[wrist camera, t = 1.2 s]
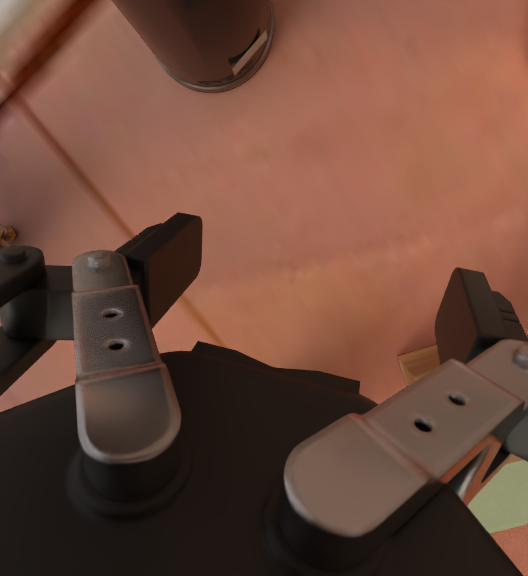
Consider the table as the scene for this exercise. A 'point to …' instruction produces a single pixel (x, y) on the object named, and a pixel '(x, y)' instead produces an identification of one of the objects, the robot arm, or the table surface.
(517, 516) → the sage strip
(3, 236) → the lion figurine
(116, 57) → the table surface
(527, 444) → the robot arm
